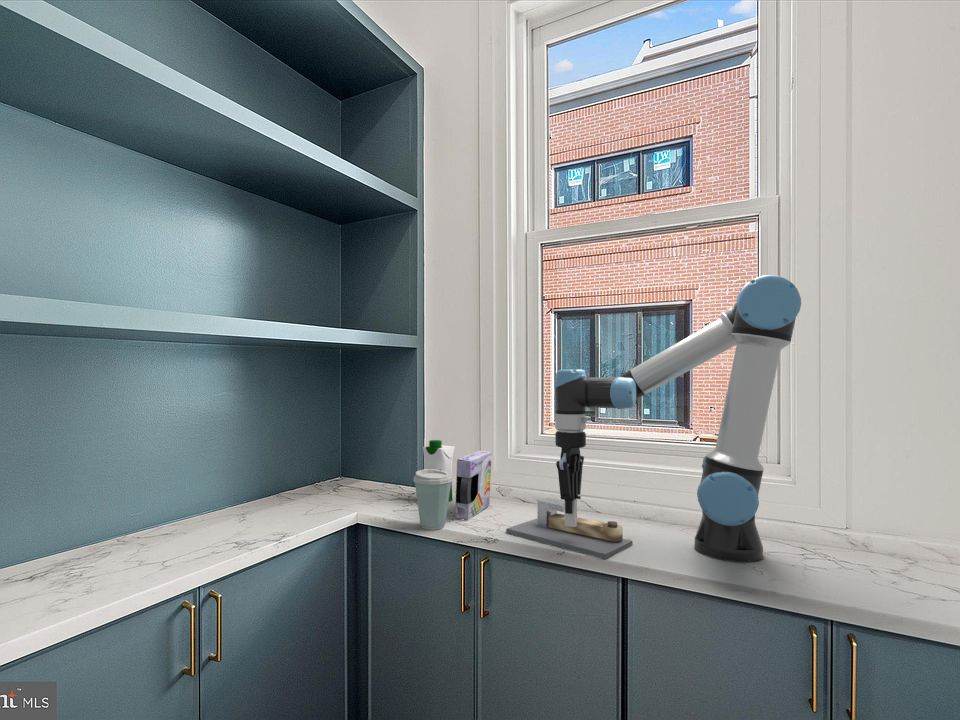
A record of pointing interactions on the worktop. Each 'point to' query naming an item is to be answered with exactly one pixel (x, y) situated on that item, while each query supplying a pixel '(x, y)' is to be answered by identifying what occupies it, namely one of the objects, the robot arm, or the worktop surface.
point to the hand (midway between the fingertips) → (570, 525)
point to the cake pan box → (472, 484)
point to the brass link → (589, 528)
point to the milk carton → (439, 458)
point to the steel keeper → (548, 510)
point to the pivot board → (569, 540)
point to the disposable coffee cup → (432, 497)
